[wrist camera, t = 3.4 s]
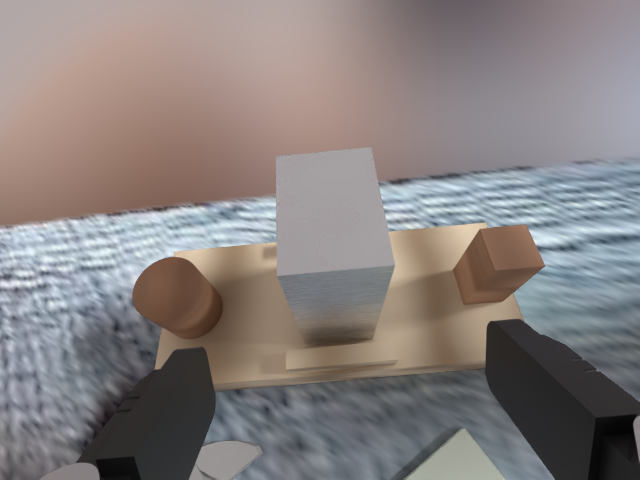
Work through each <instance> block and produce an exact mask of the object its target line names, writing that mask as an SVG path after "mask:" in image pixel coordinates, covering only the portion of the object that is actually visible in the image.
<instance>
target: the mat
mask: <svg viewBox="0 0 640 480" xmlns="http://www.w3.org/2000/svg"><path fill="white" fill-rule="evenodd" d="M403 480H506V479H505V478H504V477H503V476H502V474H501V473H500V472H499V471H498V469H497V468H496V467H495V466H494V464H493V463H492V462H491V460H490V459H489V458H488V457H487V455H486V454H485V453H484V452H483V450H482V449H481V448H480V447H479V445H478V444H477V443H476V442H475V440H474V439H473V438H472V437H471V435H470V434H469V433H468V431H467V430H466V429H465V428H460V429H459V430H458V431H457V432H456V433H455V434H454V435H453V436H451V437H450V438H449V439H448V440H447V441H446V442H445V443H443V444H442V445H441V446H440V447H439V448H438V449H437V450H436V451H434V452H433V453H432V454H431V455H430V456H429V457H428V458H427V459H425V460H424V461H423V462H422V463H421V464H420V465H419V466H418V467H416V468H415V469H414V470H413V471H412V472H411V473H410V474H409V475H407V476H406V477H405V478H404V479H403Z"/></svg>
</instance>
